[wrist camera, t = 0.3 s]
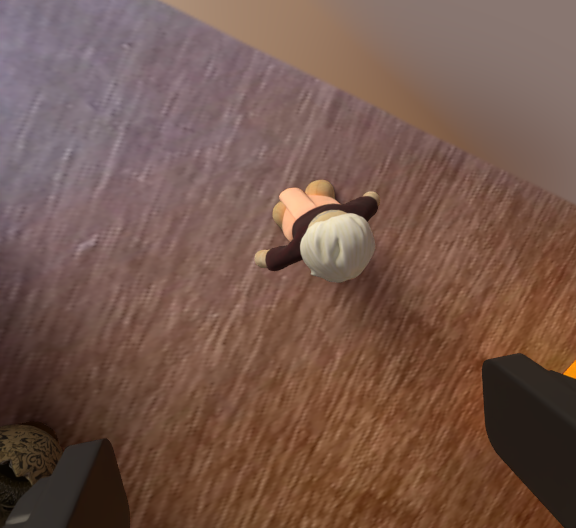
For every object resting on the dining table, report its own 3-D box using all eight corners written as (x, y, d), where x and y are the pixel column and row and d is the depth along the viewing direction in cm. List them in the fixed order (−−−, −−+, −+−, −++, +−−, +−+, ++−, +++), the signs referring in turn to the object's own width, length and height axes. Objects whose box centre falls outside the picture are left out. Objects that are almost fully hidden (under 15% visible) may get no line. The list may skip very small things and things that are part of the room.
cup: (32, 370, 32) (-28, 439, 24) (113, 440, 34) (80, 524, 26) (-48, 440, 33) (-133, 530, 25) (36, 505, 34) (-19, 607, 27)
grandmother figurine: (326, 153, 31) (390, 152, 19) (360, 198, 32) (442, 225, 20) (236, 227, 32) (243, 274, 20) (272, 270, 33) (301, 340, 20)
